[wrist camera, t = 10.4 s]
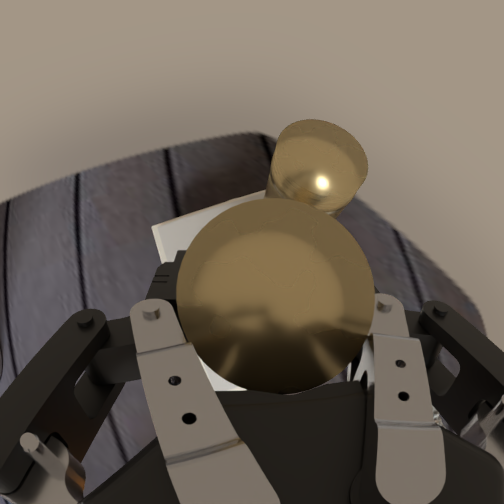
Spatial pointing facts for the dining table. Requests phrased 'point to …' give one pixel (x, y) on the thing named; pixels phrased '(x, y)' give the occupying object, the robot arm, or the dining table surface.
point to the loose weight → (275, 296)
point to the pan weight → (317, 166)
